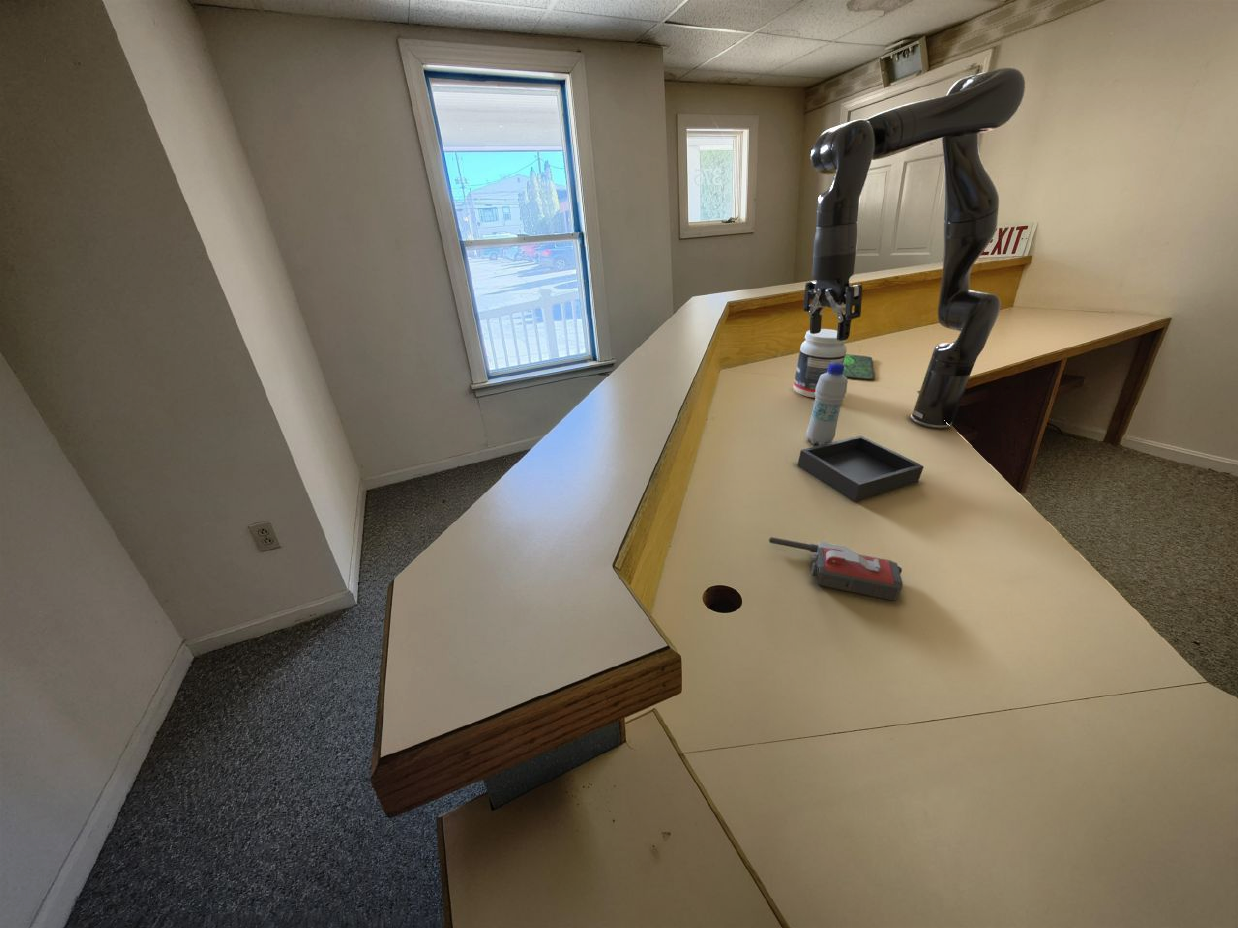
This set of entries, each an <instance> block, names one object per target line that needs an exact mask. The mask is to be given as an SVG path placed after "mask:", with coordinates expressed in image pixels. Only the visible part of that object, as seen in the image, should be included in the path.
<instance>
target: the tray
mask: <svg viewBox="0 0 1238 928" xmlns="http://www.w3.org/2000/svg"><path fill="white" fill-rule="evenodd" d="M797 466H798V467H799V468H800V469H803V471H805V472H807V473H809V474H810V475H812V476H813V477H815V478H817V479H818V480H820V481H821V482H822V483H824V484H826V485H828V487H830V488H832V489H833V490H835V491H836V492H838V493H840V494H841V495H842V496H844V497H846V498H847V499H849V500H850V501H852V502H854V503H856V502H858V501H862V500H865V499H868V498H872V497H875V496H878V495H882V494H884V493H885V494H886V493H888V492H891V491H894V490H898V489H901V488H904V487H905V488H906V487H908V486H910V485H915V484H918V483H919V481H920V477H921V475H922V472H923V470H924V467H925V466H924V465H923V464H920V463H918V462H916V461H914V460H913V459H910V458H908V457H906V456H904V455H902V454H900V453H897V452H896V451H894V450H892V449H889V448H888V447H885V446H884V445H881V444H880V443H877V442H875V441H873V440H872V439H869V438H867V437H865V436H863V435H857V436H856V435H855V436H852V437H849V438H844V439H840V440H836V441H832V442H831V443H827V444H825V443H824V444H823V445H819V444H818V445H815V446H811V447H806V448H802V449H800V452H799V457H798V462H797Z"/></svg>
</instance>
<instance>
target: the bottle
mask: <svg viewBox="0 0 1238 928" xmlns="http://www.w3.org/2000/svg"><path fill="white" fill-rule="evenodd" d="M843 372H844V365H842V364H840V363H831V364H830V365H829V366H828V370H827V373H825V374H822V375H821V376H820V378H819V381H818V383H817V386H816V392H815V396H816V397H815V398H814V402H813V408H812V412H811V416H810V420H809V423H808V426H807V430H806V439H807V441H808V442H810V443H811V445H816V443H818V446H819V445H823V444H827V443H831V442H833V440H834V439H835V436H836V433H837V432H836V431H837V425H838V420H839V416H840V412H841V408H842V404H843V401H844V400H845V398H846V394H847V392H848V391H847V389H848V378H847V377H845V376H844V375H842V374H843Z"/></svg>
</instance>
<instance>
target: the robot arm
mask: <svg viewBox="0 0 1238 928" xmlns="http://www.w3.org/2000/svg"><path fill="white" fill-rule="evenodd" d="M1025 91H1026V80H1025V76H1024V74H1023V73H1022V72H1021V71H1020V70H1019V69H1017V68H1015V67H1002V68H996V69H993V70H989V71H985V72H981V73H977V74H973V75H969V76H966V77H963V78H961V79H959V80H957V81H956V82H955V83H953V85H951V87H950V88H949V89H948V92H947V94H946V95H943V96H938V97H933V98H929V99H924V100H920V101H915V102H910V103H907V104H903V105H900V106H896V107H894V108H891V109H887V110H885V111H882V112H879V113H877V114H874V115H873V116H870V117H869V118H866V119H855V120H852V121H849V122H846V123H843V124H840V125H837V126H834V127H831V128H829V129H827V130H825V131H824V132H822V133H821V134H820V135H819V136H818V137H817V139H816V140H815V142H814V143H813V146H812V149H811V153H810V160H811V164H812V166H813V168H814V169H815V171H817V172H818V173H820V174H823V175H833V174H834V175H835V176H834V179H833V182H832V185H831V186H830V188H829V189H827V190H825V191H823V192H822V193H821V194H820V195H819V197H818V201H817V209H816V211H817V212H816V224H815V225H816V226H815V227H816V228H815V234H814V238H813V239H814V241H813V252H812V253H813V254H812V273H811V278H812V279H813V281H808V282H805V284H804V287H805V288H804V295H803V296H804V297H803V309H802V310H803V312H804V313H805V312H807V313H808V316H809V330H810V333H811V334H816V333H820V332H821V329H822V319H823V315H822V313H823V311H824V309H825V308H826V307H828V308H829V309H830V308H831V310H832V312H833V313H835V314H836V317H837V319H838V322H837V329H836V331H837V340H839V341H843V340H847V341H848V340H849V337H850V335H851V325H852V321H853V320H854V319H858V318H859V319H860V317H861V315H862V299H863V284H856V285H851V284H850V279H851V278H852V277H853V276H854V275H855V271H856V259H857V250H858V249H857V248H858V237H859V228H858V224H859V223H858V222H859V212H860V202H861V201H860V199H861V195H862V192H863V189H864V186H865V184H866V181H867V178H868V174H869V171H870V168H871V165H872V162H873V161H876V160H881V159H885V158H887V157H891V156H894V155H898V154H900V153H903V152H906V151H909V150H911V149H914V148H917V147H920V146H922V145H925V144H928V143H931V142H934V141H936V140H939V139H941V141H942V143H941V144H942V151H943V153H942V155H943V164H944V166H943V167H944V214H943V259H942V260H943V261H942V273H941V275H942V276H941V284H940V289H939V290H940V291H939V296H938V297H939V298H938V305H937V320H938V323H939V324H940V326H941V327H943V328H946V329H948V330H952V331H957V332H959V334H958V337H957V338H956V340H955V341H953V342H945V343H939V344H937V345H936V346H935V347H934V348H933V351H932V353H931V357H930V359H929V363H928V365H927V369H926V372H925V374H924V377H923V380H922V384H921V386H920V389H919V393H918V395H917V399H916V401H915V404H914V407H913V410H912V413H911V415H910V420H911V421H912V422H913V423H915V424H917V425H919V426H923V427H925V428H930V429H943V430H944V429H948V428H950V426H951V427H952V425H953V423H954V421H955V419H956V416H957V413H958V411H959V408H960V405H961V403H962V400H963V397H964V395H965V392H966V387H967V384H968V382H969V380H970V377H971V374H972V371H973V369H974V367H975V364H976V362H977V359H978V357H979V355H980V354H981V353H982V351H983V349H984V348H985V346H986V344H987V342H988V339H989V337H990V335H991V332H992V331H993V328H994V326H995V324H996V321H997V319H998V317H999V315H1000V311H1001V306H1002V305H1001V304H1002V303H1001V302H1002V301H1001V298H1000V297H999V296H998V295H997V294H995V293H991V292H984V291H980V290H979V291H977V290H971V287H970V281H971V273H972V269H973V268H974V265H975V263H976V262H977V260H979V258H980V256H981V255H982V254H983V253H984V251H985V250H987V249H986V248H987V247H988V246H989V245H990V243H991V242H992V240H993V238H994V236H995V234H996V232H997V230H998V229H997V228H998V220H999V211H1000V210H999V209H1000V195H999V192H998V190H997V188H996V185H995V184H994V181H993V180H992V178H991V177H990V175H989V173H988V171H987V170H986V168H985V166H984V164H983V163H982V159H981V157H980V153H979V152H980V151H979V134H980V133H981V134H982V133H986V132H990V131H994V130H996V129H998V128H1000V127H1002V126H1004V125H1005V124H1006V123H1008V122H1009V121H1010V120H1011V119H1012V118H1013V117H1014V116H1015V114H1016V112H1017V111H1019V108H1020V107H1021V105H1022V102H1023V99H1024V96H1025ZM810 301H811V303H810ZM853 307H854V310H853ZM844 313H845V314H844ZM944 420H945V421H944ZM946 422H947V423H948V424H949V425H950V426H949V425H947V424H946Z"/></svg>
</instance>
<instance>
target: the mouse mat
mask: <svg viewBox="0 0 1238 928" xmlns="http://www.w3.org/2000/svg"><path fill="white" fill-rule="evenodd" d="M843 365H844V372H843V374H842V375H844V376H845V377H847V379H848V378H849V379H855V380H856V379H857V380H865V381H873V380H875V375H874V374H875V372H874V364H873V357H871V356H868V355H859V354H848V353H846V355H845V359H844V364H843Z"/></svg>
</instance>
